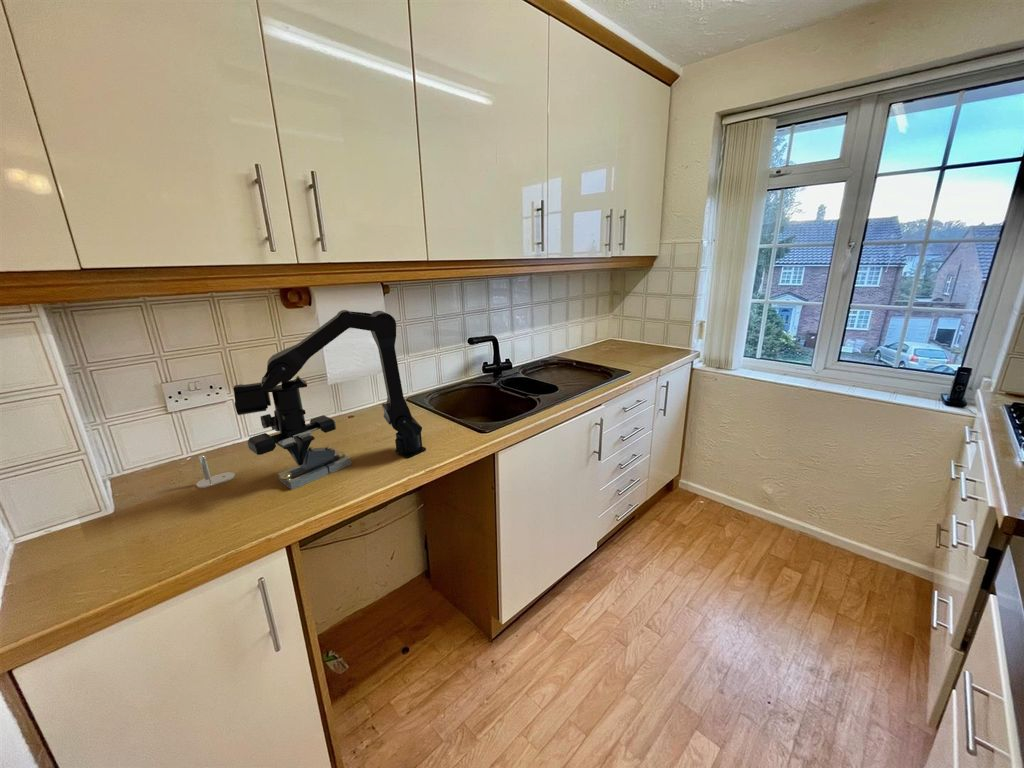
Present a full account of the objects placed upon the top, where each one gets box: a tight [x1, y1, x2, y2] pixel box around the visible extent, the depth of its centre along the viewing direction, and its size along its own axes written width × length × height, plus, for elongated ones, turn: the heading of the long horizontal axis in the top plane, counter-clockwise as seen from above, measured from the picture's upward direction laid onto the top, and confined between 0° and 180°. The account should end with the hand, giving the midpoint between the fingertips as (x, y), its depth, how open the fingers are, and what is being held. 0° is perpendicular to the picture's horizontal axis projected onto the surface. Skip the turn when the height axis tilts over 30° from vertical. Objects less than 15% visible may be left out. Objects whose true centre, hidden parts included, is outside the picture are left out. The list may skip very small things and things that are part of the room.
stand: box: [196, 455, 236, 489], centre depth 103 cm, size 8×5×8 cm
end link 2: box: [327, 450, 352, 474], centre depth 110 cm, size 6×7×3 cm
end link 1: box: [277, 465, 329, 490], centre depth 104 cm, size 10×7×3 cm
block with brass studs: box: [300, 445, 336, 472], centre depth 107 cm, size 7×3×6 cm, turn 141°
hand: (300, 464), depth 103 cm, fingers closed
